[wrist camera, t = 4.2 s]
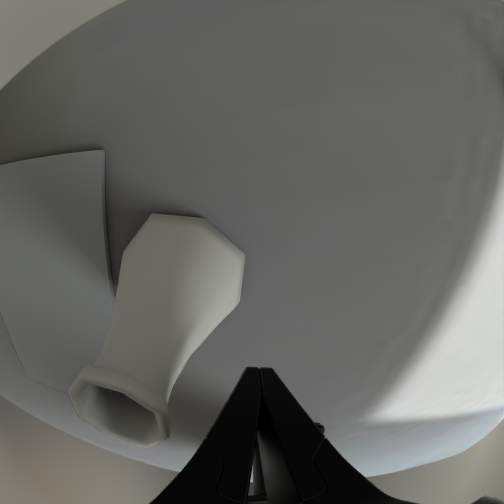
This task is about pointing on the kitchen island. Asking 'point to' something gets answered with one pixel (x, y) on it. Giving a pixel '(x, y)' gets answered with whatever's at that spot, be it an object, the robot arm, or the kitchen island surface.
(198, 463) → the robot arm
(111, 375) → the flask
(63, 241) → the mat
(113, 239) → the kitchen island surface
